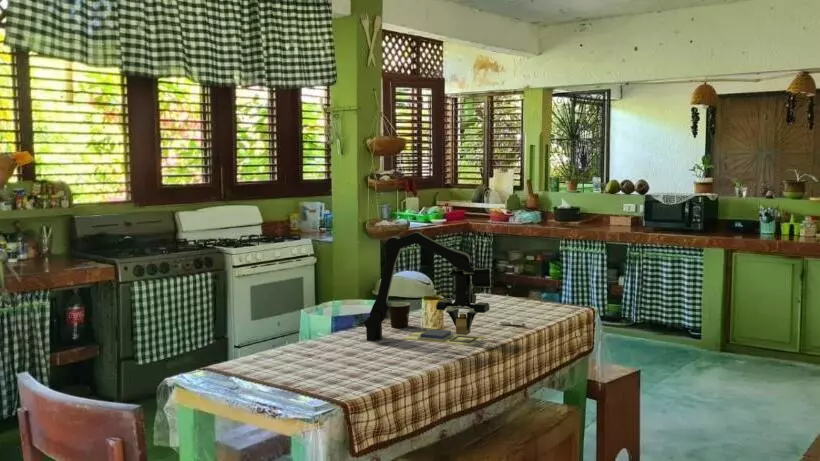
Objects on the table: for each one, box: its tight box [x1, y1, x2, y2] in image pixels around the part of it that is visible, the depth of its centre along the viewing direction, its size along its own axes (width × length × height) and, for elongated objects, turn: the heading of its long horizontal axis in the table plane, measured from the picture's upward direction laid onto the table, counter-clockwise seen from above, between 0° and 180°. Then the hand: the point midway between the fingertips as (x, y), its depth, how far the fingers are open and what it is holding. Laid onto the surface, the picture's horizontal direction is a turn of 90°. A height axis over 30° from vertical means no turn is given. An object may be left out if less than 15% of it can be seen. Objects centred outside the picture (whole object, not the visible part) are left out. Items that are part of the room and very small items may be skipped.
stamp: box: [455, 313, 471, 335], centre depth 276 cm, size 4×4×7 cm
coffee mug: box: [389, 301, 411, 330], centre depth 302 cm, size 12×9×10 cm
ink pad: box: [418, 328, 455, 341], centre depth 281 cm, size 10×10×2 cm
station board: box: [401, 330, 486, 347], centre depth 280 cm, size 14×28×1 cm, turn 64°
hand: (463, 329), depth 276 cm, fingers closed on stamp, 4 cm apart
